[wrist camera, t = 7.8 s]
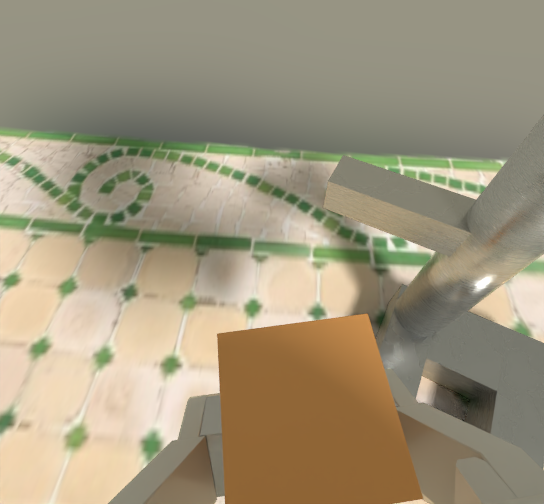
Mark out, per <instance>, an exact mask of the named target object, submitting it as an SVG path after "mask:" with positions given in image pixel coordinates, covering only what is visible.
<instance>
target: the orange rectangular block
mask: <svg viewBox="0 0 544 504" xmlns="http://www.w3.org/2000/svg"><path fill="white" fill-rule="evenodd" d="M217 337H218V359H219V381H220V402H221V424H222V446H223V467H224V489H225V504H394V503H400V502H406V501H412V500H418V499H423V496H422V493H421V489H420V486H419V483H418V479H417V476H416V473H415V469H414V466H413V463H412V459H411V456H410V453H409V449H408V446H407V443H406V439H405V436H404V433H403V429H402V426H401V423H400V419H399V416H398V413H397V409H396V406H395V403H394V399H393V396H392V393H391V389H390V386H389V383H388V379H387V376H386V373H385V369H384V366H383V363H382V359H381V356H380V353H379V349H378V346H377V343H376V339H375V336H374V333H373V330H372V326H371V323H370V320H369V316H368V314H360V315H353V316H345V317H338V318H331V319H323V320H316V321H308V322H301V323H293V324H286V325H279V326H271V327H264V328H256V329H249V330H241V331H234V332H227V333H219V334H217Z"/></svg>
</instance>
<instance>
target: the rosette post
mask: <svg viewBox="0 0 544 504" xmlns="http://www.w3.org/2000/svg"><path fill="white" fill-rule="evenodd" d="M323 208H325V209H327V210H330V211H332V212H335V213H338V214H340V215H343V216H345V217H348V218H351V219H353V220H356V221H358V222H361V223H364V224H366V225H369V226H371V227H374V228H377V229H379V230H382V231H384V232H387V233H390V234H392V235H395V236H397V237H400V238H403V239H405V240H408V241H410V242H413V243H416V244H418V245H421V246H423V247H426V248H429V249H431V250H434V251H436V252H435V253H434V254H433V255H432V257H431V258H430V259H429V260H428V262H427V263H426V264H425V266H424V267H423V268H422V269H421V271H420V272H419V273H418V274H417V276H416V277H415V278H414V279H413V281H412V282H411V283H410V284H409V286H406V285H404V284H402V286H401V287H400V288H399V290H398V291H397V292H396V294H395V295H394V296H393V298H392V299H391V300H390V302H389V304H388V307H387V309H386V312H385V315H384V318H383V321H382V323H381V326H380V329H379V332H378V335H377V337H376V343H377V346H378V349H379V353H380V356H381V359H382V363H383V366H384V369H388V368H390V369H392V370H393V371H394V372H395V373H396V375H397V376H398V377H399V379H400V380H401V381H402V382H403V384H404V385H405V386H406V388H407V389H408V390H409V391H410V393H411V394H412V395H413V397H414V398H415V399H416V395H417V391H418V388H419V384H420V380H421V376H423V377H425V378H427V379H430V380H432V381H434V382H436V383H438V384H440V385H442V386H444V387H446V388H448V389H450V390H452V391H454V392H457V393H459V394H461V395H463V396H465V397H467V398H469V399H470V401H469V406H468V411H467V417H466V423H468V424H470V425H473V426H475V427H477V428H479V429H481V430H483V431H485V432H487V433H490V434H492V435H494V436H496V437H498V438H500V439H502V440H505V441H507V442H509V443H511V444H513V445H515V446H517V447H520V448H522V449H523V450H524V451H525V452H526V453H527V454H528V455H529V456H530V457H531V458H532V459H533V460H534V461H535V462H536V463H537V464H538V465H539V466H540V467H541V468H542V469H543V467H544V343H542V342H540V341H537V340H535V339H533V338H530V337H528V336H525V335H523V334H521V333H518V332H516V331H514V330H511V329H509V328H506V327H504V326H502V325H499V324H497V323H494V322H492V321H490V320H487V319H485V318H482V317H480V316H478V315H475V314H473V313H471V312H468V310H469V309H471V308H472V307H473V306H475V305H476V304H477V303H479V302H480V301H481V300H483V299H484V298H485V297H487V296H488V295H489V294H491V293H492V292H493V291H495V290H496V289H497V288H499V287H500V286H501V285H503V284H504V283H505V282H507V281H508V280H510V279H511V278H512V277H514V276H515V275H516V274H518V273H519V272H520V271H522V270H523V269H524V268H526V267H527V266H528V265H530V264H531V263H532V262H534V261H535V260H536V259H538V258H539V257H540V256H542V255H543V254H544V115H543V116H542V118H541V119H540V120H539V122H538V123H537V124H536V125H535V127H534V128H533V129H532V130H531V132H530V133H529V134H528V135H527V137H526V138H525V139H524V140H523V142H522V143H521V144H520V145H519V147H518V148H517V149H516V151H515V152H514V153H513V155H512V156H511V157H510V158H509V159H508V161H507V162H506V163H505V164H504V166H503V167H502V168H501V169H500V171H499V172H498V173H497V175H496V176H495V177H494V178H493V180H492V181H491V182H490V183H489V185H488V186H487V187H486V188H485V190H484V191H483V192H482V193H481V195H480V196H479V197H478V199H477V200H475V199H472V198H469V197H466V196H463V195H460V194H457V193H454V192H451V191H448V190H445V189H442V188H439V187H437V186H434V185H431V184H428V183H425V182H422V181H419V180H416V179H413V178H410V177H407V176H404V175H401V174H398V173H395V172H392V171H389V170H386V169H383V168H380V167H377V166H374V165H371V164H368V163H365V162H362V161H359V160H356V159H353V158H350V157H347V156H345V155H343V156H342V158H341V160H340V162H339V163H338V165H337V167H336V169H335V170H334V172H333V174H332V176H331V177H330V179H329V181H328V185H327V190H326V195H325V200H324V205H323ZM421 493H422V492H421ZM422 496H423V500H424V501H426V502H428V503H430V504H435V503H433V502H432V501H431V500H430V499H429V498H427V497H426V496H425V495H424V494H423V493H422Z"/></svg>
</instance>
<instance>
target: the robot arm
mask: <svg viewBox="0 0 544 504" xmlns="http://www.w3.org/2000/svg"><path fill="white" fill-rule="evenodd" d="M385 373H386V376H387V379H388V383H389V386H390V389H391V393H392V396H393V399H394V403H395V406H396V409H397V413H398V416H399V419H400V423H401V426H402V429H403V433H404V436H405V439H406V443H407V446H408V449H409V453H410V456H411V459H412V463H413V466H414V469H415V473H416V476H417V479H418V483H419V486H420V489H421V492H422V493H423V494H424V495H425V496H426V497H427V498H429V499H430V500H431V501H432V502H433V503H435V504H544V470H543V469H542V468H541V467H540V466H539V465H538V464H537V463H536V462H535V461H534V460H533V459H532V458H531V457H530V456H529V455H528V454H527V453H526V452H525V451H524V450H523V449H522V448H520V447H517V446H515V445H513V444H511V443H509V442H507V441H505V440H502V439H500V438H498V437H496V436H494V435H492V434H490V433H487V432H485V431H483V430H481V429H479V428H477V427H475V426H473V425H470V424H468V423H466V422H464V421H462V420H460V419H458V418H455V417H453V416H451V415H449V414H447V413H445V412H443V411H440V410H438V409H436V408H434V407H432V406H430V405H428V404H425V403H418V402H417V400H416V399H415V398H414V397H413V395H412V394H411V393H410V391H409V390H408V389H407V388H406V386H405V385H404V384H403V382H402V381H401V380H400V379H399V377H398V376H397V375H396V373H395V372H394V371H393V370H392V369H390V368H388V369H385ZM220 496H225V489H224V467H223V446H222V424H221V402H220V393H217V394H209V395H202V396H195V397H190V398H189V399H188V401H187V405H186V409H185V413H184V417H183V421H182V425H181V429H180V433H179V437H178V440H174V441H172V442H171V443H170V444H168V445H167V446H166V447H165V448H164V449H163V450H162V451H161V452H160V453H159V454H158V455H157V456H156V457H155V458H154V459H153V460H152V461H151V462H150V463H149V464H148V465H147V466H146V467H145V468H144V469H143V470H142V471H141V472H140V473H139V474H138V475H137V476H136V477H135V478H134V479H133V480H132V481H131V482H130V483H129V484H128V485H126V486H125V487H124V488H123V489H122V490H121V491H120V492H119V493H118V494H117V495H116V496H115V497H114V498H113V499H112V500H111V501H110V502H109V503H108V504H214V503H215V502H216V500H217V498H216V497H220Z"/></svg>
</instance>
